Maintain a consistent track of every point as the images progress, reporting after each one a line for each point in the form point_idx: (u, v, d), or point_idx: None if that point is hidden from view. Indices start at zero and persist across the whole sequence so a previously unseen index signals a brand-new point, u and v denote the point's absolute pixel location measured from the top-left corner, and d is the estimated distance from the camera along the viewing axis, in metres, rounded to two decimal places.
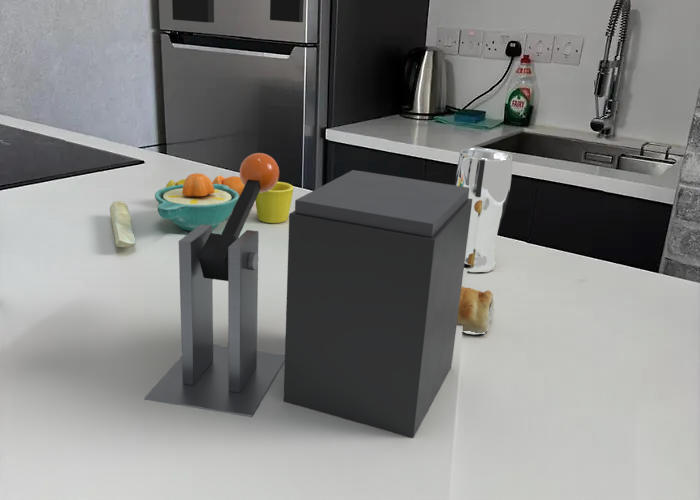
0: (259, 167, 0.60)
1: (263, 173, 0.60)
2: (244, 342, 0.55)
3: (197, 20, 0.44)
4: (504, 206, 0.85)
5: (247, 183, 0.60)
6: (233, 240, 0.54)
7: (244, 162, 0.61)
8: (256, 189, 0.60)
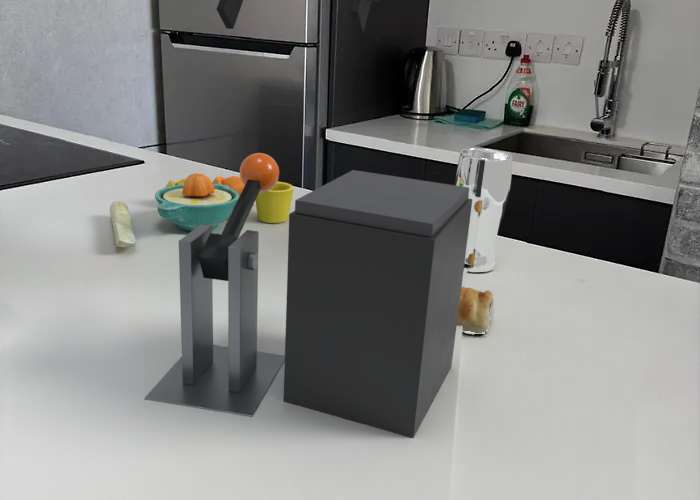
0: (259, 167, 0.60)
1: (263, 173, 0.60)
2: (244, 342, 0.55)
3: (361, 26, 0.64)
4: (504, 206, 0.85)
5: (247, 183, 0.60)
6: (233, 240, 0.54)
7: (244, 162, 0.61)
8: (256, 189, 0.60)
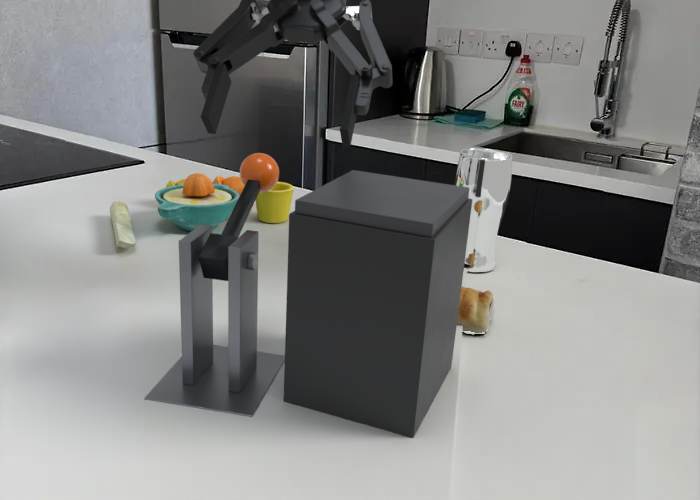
0: (259, 167, 0.60)
1: (263, 173, 0.60)
2: (244, 342, 0.55)
3: (349, 141, 0.65)
4: (504, 206, 0.85)
5: (247, 183, 0.60)
6: (233, 240, 0.54)
7: (244, 162, 0.61)
8: (256, 189, 0.60)
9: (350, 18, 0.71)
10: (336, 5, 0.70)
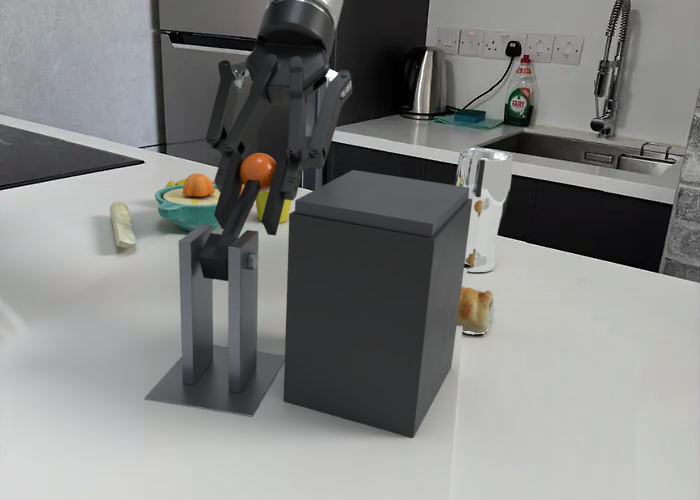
0: (259, 167, 0.60)
1: (263, 173, 0.60)
2: (244, 342, 0.55)
3: (274, 230, 0.60)
4: (504, 206, 0.85)
5: (247, 183, 0.60)
6: (233, 240, 0.54)
7: (244, 162, 0.61)
8: (256, 189, 0.60)
9: (327, 82, 0.66)
10: (318, 64, 0.66)
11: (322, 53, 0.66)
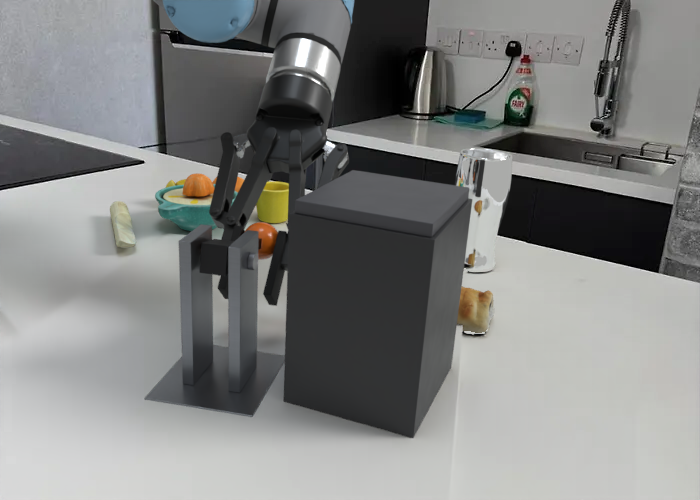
0: (263, 227, 0.64)
1: (266, 233, 0.64)
2: (244, 342, 0.55)
3: (275, 302, 0.63)
4: (504, 206, 0.85)
5: None
6: None
7: (249, 226, 0.65)
8: (258, 241, 0.62)
9: (325, 153, 0.69)
10: (316, 136, 0.69)
11: (320, 126, 0.69)
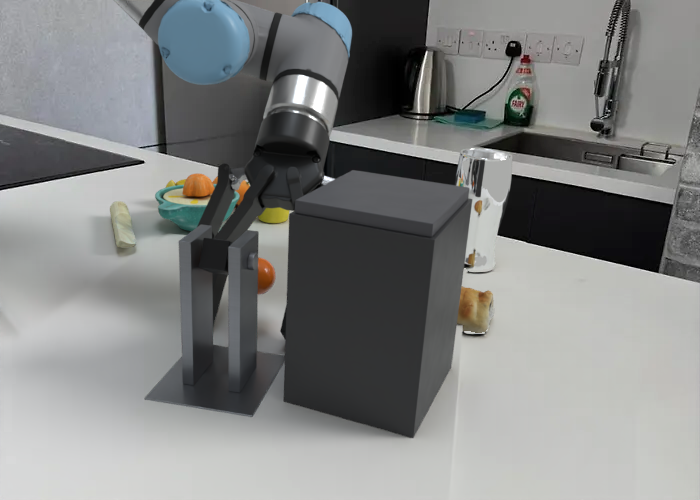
0: (261, 260, 0.64)
1: (263, 265, 0.64)
2: (244, 342, 0.55)
3: None
4: (504, 206, 0.85)
5: None
6: None
7: None
8: None
9: None
10: (313, 173, 0.69)
11: (317, 162, 0.70)
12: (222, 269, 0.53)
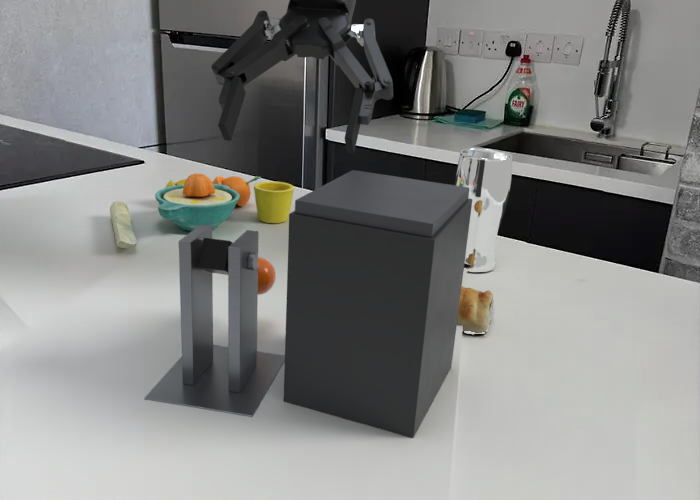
0: (261, 260, 0.64)
1: (263, 265, 0.64)
2: (244, 342, 0.55)
3: (353, 149, 0.71)
4: (504, 206, 0.85)
5: None
6: None
7: None
8: None
9: (355, 35, 0.77)
10: (342, 23, 0.77)
11: (345, 15, 0.77)
12: (222, 269, 0.53)
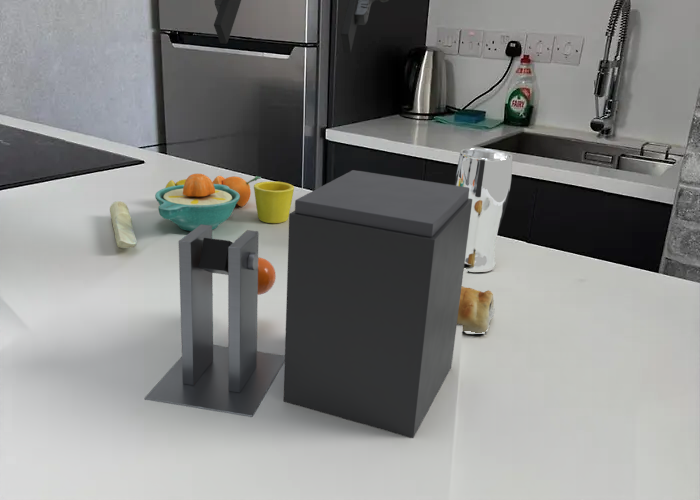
0: (261, 260, 0.64)
1: (263, 265, 0.64)
2: (244, 342, 0.55)
3: (350, 47, 0.71)
4: (504, 206, 0.85)
5: None
6: None
7: None
8: None
9: None
10: None
11: None
12: (222, 269, 0.53)
